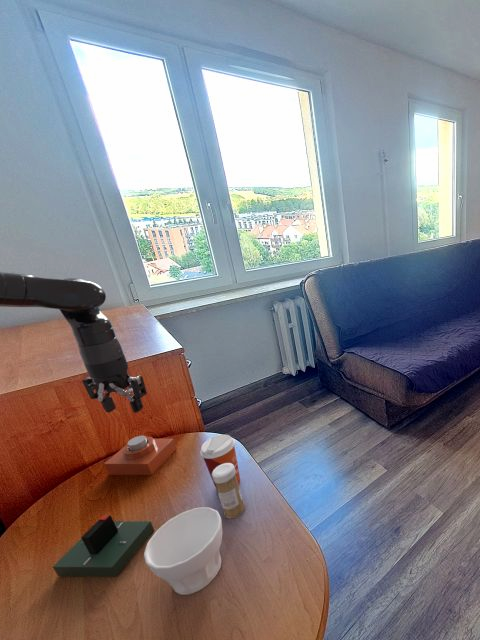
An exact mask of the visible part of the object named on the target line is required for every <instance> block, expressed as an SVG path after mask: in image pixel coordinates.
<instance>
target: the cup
mask: <svg viewBox="0 0 480 640" xmlns="http://www.w3.org/2000/svg"><path fill="white" fill-rule="evenodd" d="M222 538H223V524H222V517H221V515H220V513H219V511H218V510H217V509H213V508H211V507H194V508H192V509H189V510H185V511H183V512H181V513H179V514H177V515H176V516H175V515H174V516H173V517H172V518H170V519H168V520H167V521H166V522H165V523H163V525H161V526H160V527H159V528H158V529H157V530H155V531H154V533H153V535H152V536H151V537H150V539H149V540H147V543H146V546H145V549H144V551H143V552H144V553H143V557H144V560H145V564H146V566H147V567H148V568H149V569H150V570H151V571H152V573H153V574H154V575H155V576H157V578H160V579H162V580H164V581H165V582H166V583H167V584H168V585H169V586H171V588H172V589H173V591H174V592H175V593H176V594H178V595H181V596H187V595H188V596H189V595H192V594H195V593H196V592H197V593H198V592H199V591H201V590H203V589H204V588H205V587H207V586H208V585H210V583H212V581H213V580H214V579H215V578H216V576H217V575H218V573H219V572H220V569H221V567H222V557H221V554H220V547H221V545H222V540H223V539H222Z"/></svg>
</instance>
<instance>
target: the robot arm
mask: <svg viewBox="0 0 480 640" xmlns="http://www.w3.org/2000/svg"><path fill="white" fill-rule="evenodd" d="M106 299H107V296H106V292H105V290H104V288H103V287H101V286H100V285H99V284H98V283H95V282H93V281H89V280H85V279H81V278H75V277H68V278H63V279H61V278H47V277H40V276H37V275H31V274H26V273H25V274H24V273H15V272H4V271H0V307H2V308H4V307H8V308H44V309H51V310H52V309H53V310H59V311H60V313H61V314H62V316H63V318H64V319H65V321H66V322H67V324H68V325H69V326H70V328H71V331H72V335H73V337H74V340H75V342H76V344H77V347H78V352H79V355H80V358H81V360H82V362H83V365H84V367H85V368H86V372H87V375H88V377H85V378H84V379H82V380H81V383H82V384H83V387H84V388H85V390H86V392H87V394H88V396H89V398H90V399H91V400H97V401H98V402H100V403H101V405H102V408H103V410H104V411H105V413H111V412H113V411H114V410H116V404H115V402H114V399H113V397H112V396H111V395H112V393H117V394H119V395H120V396H121V397H125V398H126V399H127V400H128V401H129V404H130V407H131V410H132V412H133V413H134V414H137V413H139V412H141V410H143V408H144V405H143V402H142V398H143V397H145V396H147V394H148V392H147V388H146V384H145V381H144V377H143V376H142V375H137V376H131V375H130V374H129V373H128V370H129V364H128V361H127V358H126V356H125V354H124V351H123V348H122V345H121V343H120V341H119V339H118V337H117V335H116V333H115V330H114V326H113V325H112V322H111V321H110V318H109V317H107V316H106V315H105V314H104V313H102V311H101V309H100V307H101V306H103V304H104V303H105V302H106ZM127 388H128V389H127ZM126 389H127V390H126Z"/></svg>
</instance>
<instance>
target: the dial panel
mask: <svg viewBox="0 0 480 640" xmlns="http://www.w3.org/2000/svg"><path fill="white" fill-rule="evenodd" d="M113 521H114V523H115V525H116V528H117V530H118V532H117V533H116V534H115V536H114V537H113V538H112V539H111V540H110V541H109V542H108V543H107V544H106V545H105V546H104V547H103V549H102V550H101V551H100V552H99V553H98V554H90V553H89V552H88V550H87V548H86V546H85V544H84V542H83V540H82V539H81V538H80V539H79V540H78V541H77V542H76V543H75V544H74V545H73V546H71V548H70V549H69V550H68V551H67V552H66V553H65V554H64V555H63V556H62V557H61V558H60V559H59V560H58V561H57V562H56V563H55V564H54V565H53V566H52V569H53V571H54V572H55V573H56V575H57V576H58V577H60V578H62V577H64V578H65V577H69V578H70V577H71V578H76V577H77V578H78V577H79V578H83V577H86V578H89V577H90V578H103V577H104V578H105V577H106V578H117V577H118V576H119V575H120V573H122V571H123V570H124V569H125V568H126V566H127V565H128V563H129V562H130V561H131V560H132V559H133V557H134V556H135V555H137V553H138V551H139V550H140V549H141V548H142V547H143V545H144V544H145V543H146V541H148V539H149V537H150V536H151V535H152V534H154V532H155V529H154V526H153V523H152V521H149V520H146V521H144V520H143V521H142V520H141V521H139V520H125V521H124V520H113Z"/></svg>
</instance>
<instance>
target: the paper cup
mask: <svg viewBox="0 0 480 640" xmlns="http://www.w3.org/2000/svg"><path fill="white" fill-rule="evenodd" d="M199 455H200V457H201V458H202V459H203V461H204V463H205V465H206V468H207V471H208V473H209V475H210V478H211V480H212V483H213V485H214V487H215V490H216V491H217V487H216V484H215V482H214V481H213V478H212V472H213V470H214V469H215V468H216V467H218V466H219V465H221V464H224V463H231V464H233V465H234V467H235V471H236V473H235V474H236V478H237V482H238V485H239V486H240V483H241V477H240V470H239V464H238V463H239V462H238V458H237V452H236V440H235V438H234V437H232V436H231V435H229V434H225V433H224V434H218V435H215V436H212V437H210V438H208V439H206V440H205V441H204V443H203V444H202V445H201V447H200V451H199Z"/></svg>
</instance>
